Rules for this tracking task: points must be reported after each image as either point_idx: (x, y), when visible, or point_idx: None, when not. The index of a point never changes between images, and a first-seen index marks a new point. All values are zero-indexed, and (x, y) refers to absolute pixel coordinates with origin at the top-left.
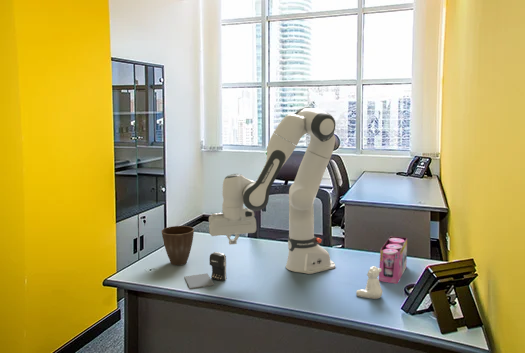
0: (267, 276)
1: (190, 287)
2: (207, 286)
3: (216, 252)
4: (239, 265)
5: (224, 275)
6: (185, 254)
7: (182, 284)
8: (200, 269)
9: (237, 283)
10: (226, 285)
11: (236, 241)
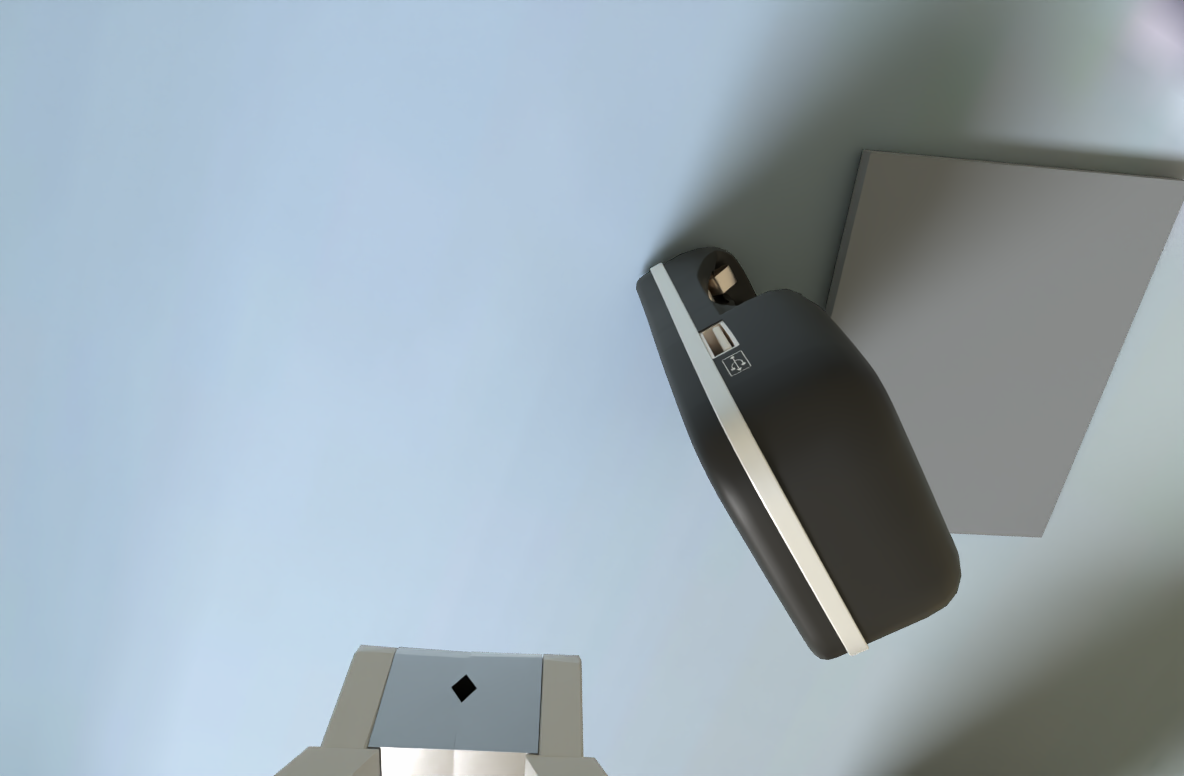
0: (20, 121)
1: (1180, 189)
2: (955, 159)
3: (843, 611)
4: (329, 621)
5: (680, 278)
6: None
7: (1153, 365)
8: (775, 666)
9: (544, 70)
10: (715, 74)
11: (340, 706)
